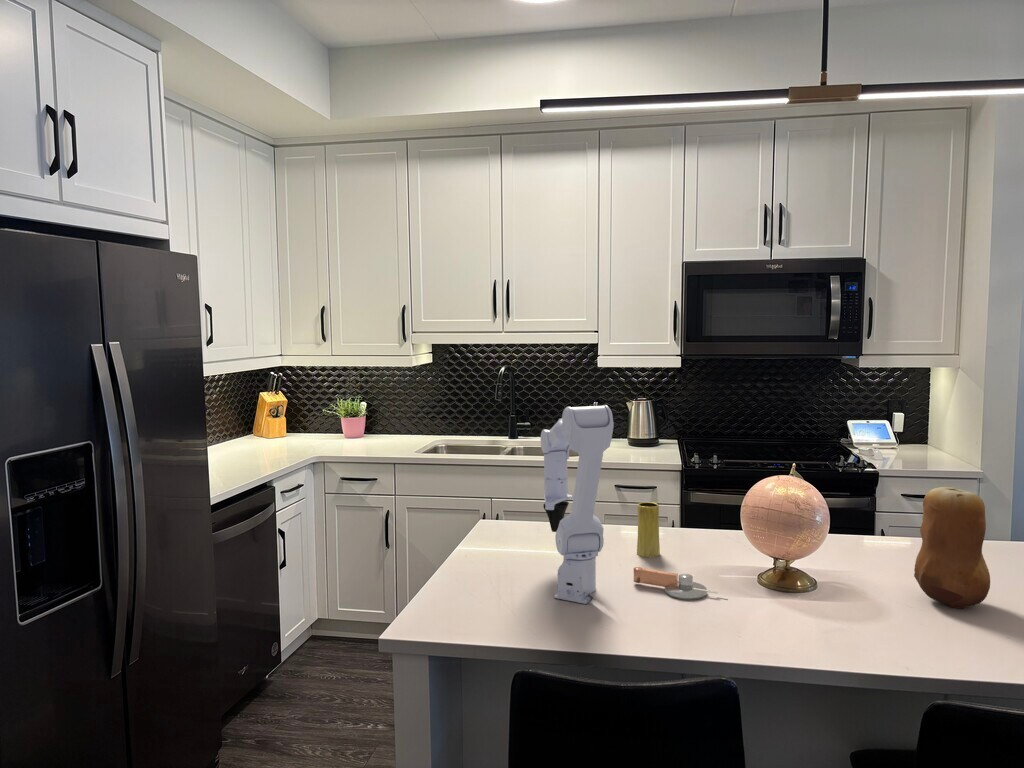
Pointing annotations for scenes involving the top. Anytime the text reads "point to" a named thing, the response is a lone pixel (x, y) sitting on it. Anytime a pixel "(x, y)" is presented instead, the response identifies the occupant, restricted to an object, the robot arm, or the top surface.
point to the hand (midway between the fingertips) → (556, 531)
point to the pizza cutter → (672, 583)
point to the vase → (648, 530)
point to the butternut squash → (953, 548)
